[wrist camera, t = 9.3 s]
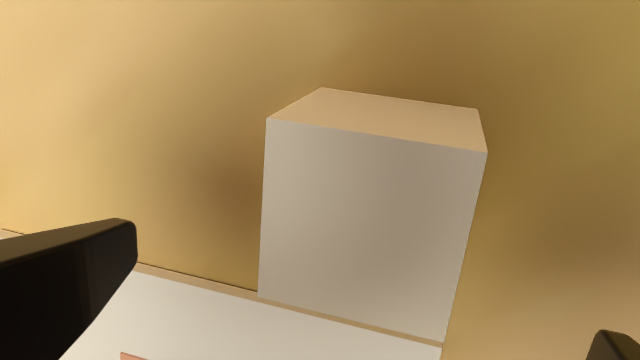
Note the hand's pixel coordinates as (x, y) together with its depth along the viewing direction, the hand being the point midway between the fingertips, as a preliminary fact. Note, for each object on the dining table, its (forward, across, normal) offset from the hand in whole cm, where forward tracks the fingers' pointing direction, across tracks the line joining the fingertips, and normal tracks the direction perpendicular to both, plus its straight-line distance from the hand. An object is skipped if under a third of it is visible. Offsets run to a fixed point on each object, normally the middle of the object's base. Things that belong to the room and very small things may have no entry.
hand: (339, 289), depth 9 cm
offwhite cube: (+8, 0, 0) cm, 8 cm away
